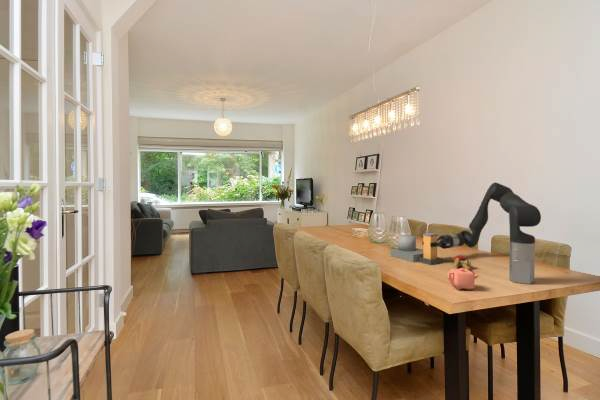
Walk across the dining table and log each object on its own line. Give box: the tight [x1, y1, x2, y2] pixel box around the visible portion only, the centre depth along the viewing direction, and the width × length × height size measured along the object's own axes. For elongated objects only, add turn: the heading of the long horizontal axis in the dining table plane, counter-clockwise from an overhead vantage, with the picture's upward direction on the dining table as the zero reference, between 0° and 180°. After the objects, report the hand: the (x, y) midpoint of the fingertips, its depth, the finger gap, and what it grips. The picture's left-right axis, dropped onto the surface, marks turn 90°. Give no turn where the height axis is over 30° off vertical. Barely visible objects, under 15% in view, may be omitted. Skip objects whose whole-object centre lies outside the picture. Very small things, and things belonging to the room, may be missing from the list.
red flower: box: [453, 254, 473, 273], centre depth 168 cm, size 8×6×18 cm
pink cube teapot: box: [447, 267, 480, 291], centre depth 138 cm, size 8×12×8 cm, turn 85°
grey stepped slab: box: [390, 234, 444, 266], centre depth 192 cm, size 16×27×12 cm, turn 26°
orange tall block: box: [422, 232, 439, 260], centre depth 184 cm, size 5×5×14 cm
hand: (426, 244), depth 182 cm, fingers closed on orange tall block, 5 cm apart
